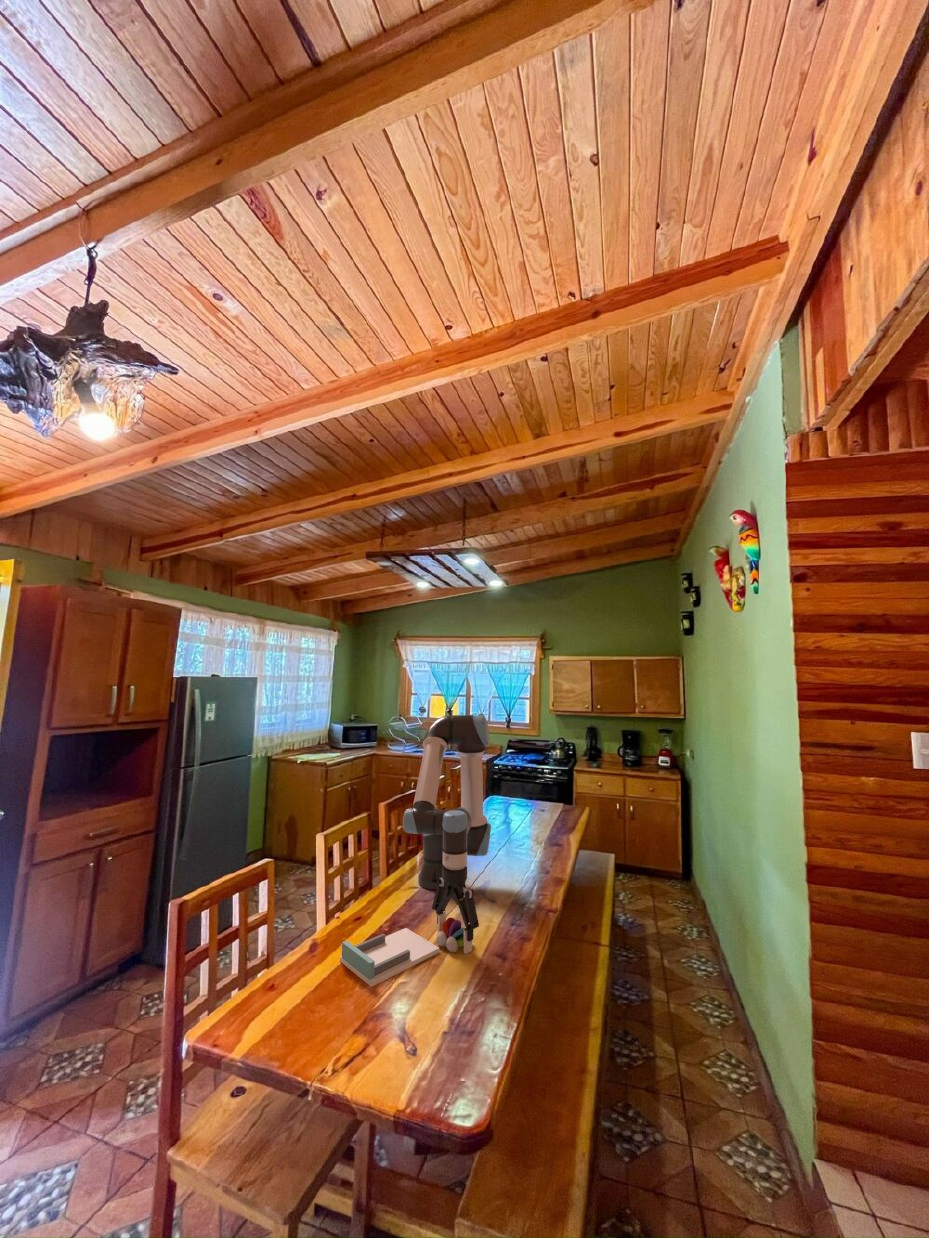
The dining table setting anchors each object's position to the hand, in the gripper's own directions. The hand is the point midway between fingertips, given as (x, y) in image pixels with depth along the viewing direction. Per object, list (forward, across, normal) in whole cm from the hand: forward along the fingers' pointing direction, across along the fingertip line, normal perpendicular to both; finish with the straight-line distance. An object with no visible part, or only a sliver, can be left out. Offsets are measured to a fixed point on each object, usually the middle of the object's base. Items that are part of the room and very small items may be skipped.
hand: (454, 944), depth 144 cm
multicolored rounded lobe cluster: (+1, 0, 0) cm, 1 cm away
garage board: (0, -8, -17) cm, 19 cm away
